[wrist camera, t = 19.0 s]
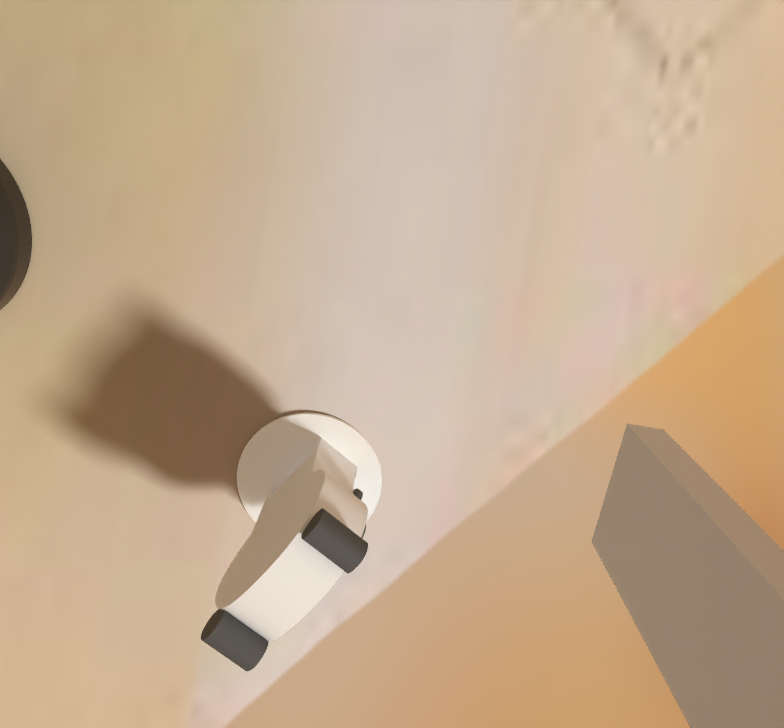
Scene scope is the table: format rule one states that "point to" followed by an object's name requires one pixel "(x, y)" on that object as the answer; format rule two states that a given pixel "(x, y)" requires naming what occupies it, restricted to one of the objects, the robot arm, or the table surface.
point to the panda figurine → (293, 528)
